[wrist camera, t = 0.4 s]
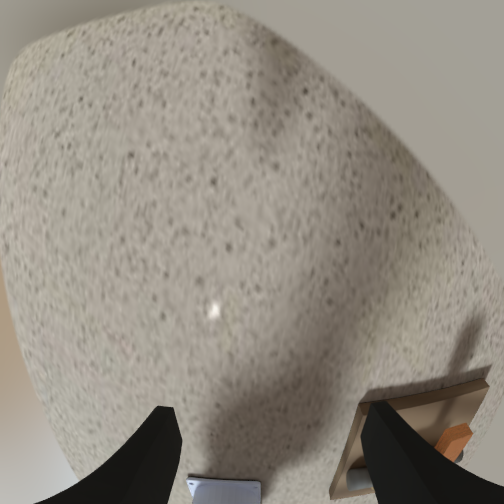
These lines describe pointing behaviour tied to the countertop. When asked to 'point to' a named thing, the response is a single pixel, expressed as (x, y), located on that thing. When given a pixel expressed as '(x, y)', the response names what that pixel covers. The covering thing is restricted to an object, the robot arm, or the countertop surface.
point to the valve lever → (453, 441)
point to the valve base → (419, 418)
